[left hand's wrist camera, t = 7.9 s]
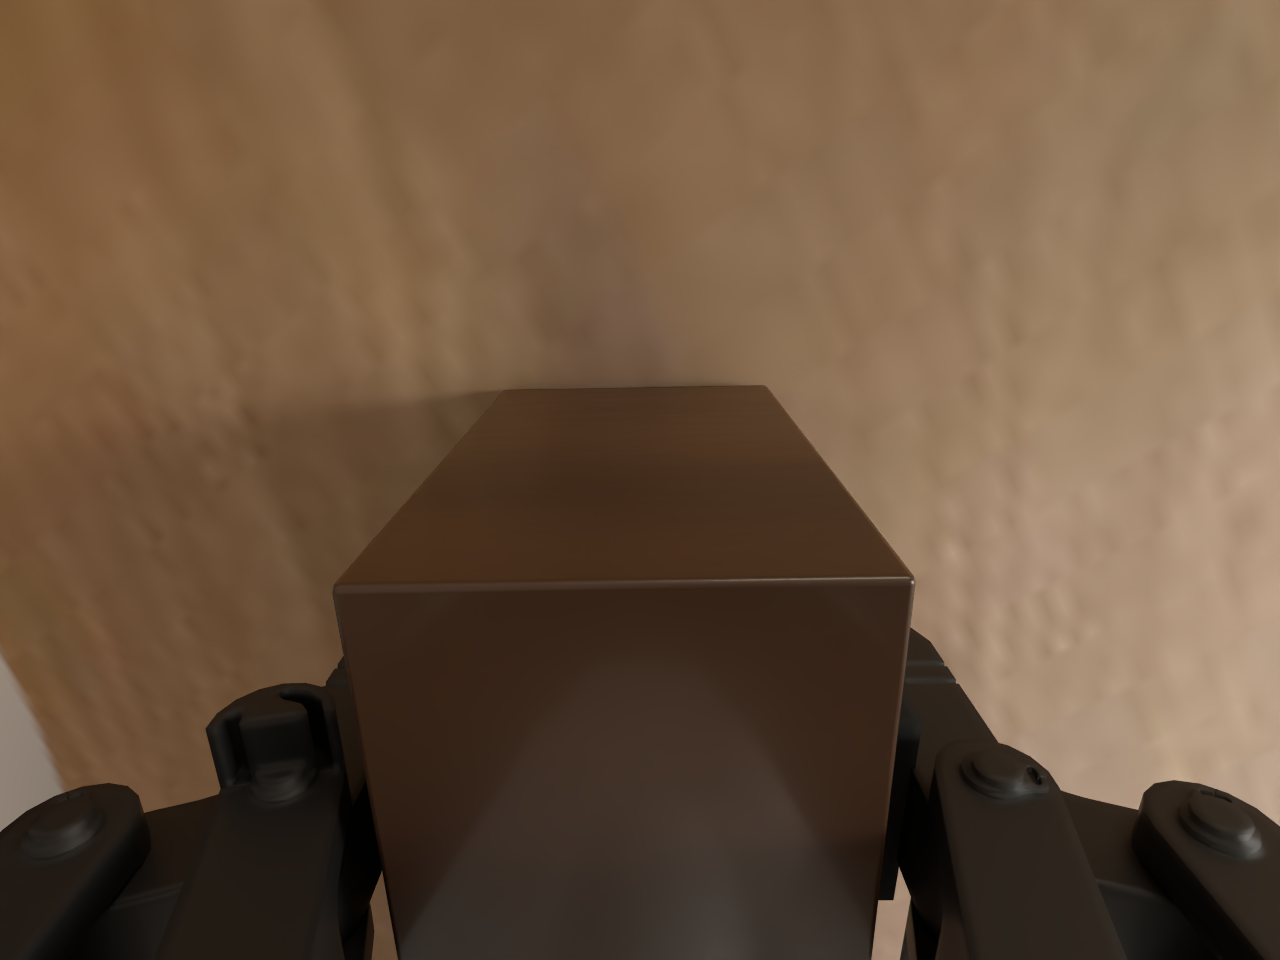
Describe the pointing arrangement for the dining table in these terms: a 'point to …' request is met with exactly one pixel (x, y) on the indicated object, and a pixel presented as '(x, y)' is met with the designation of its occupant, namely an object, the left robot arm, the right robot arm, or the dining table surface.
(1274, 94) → the dining table surface
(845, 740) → the beam
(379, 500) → the dining table surface
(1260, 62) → the dining table surface
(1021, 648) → the dining table surface
